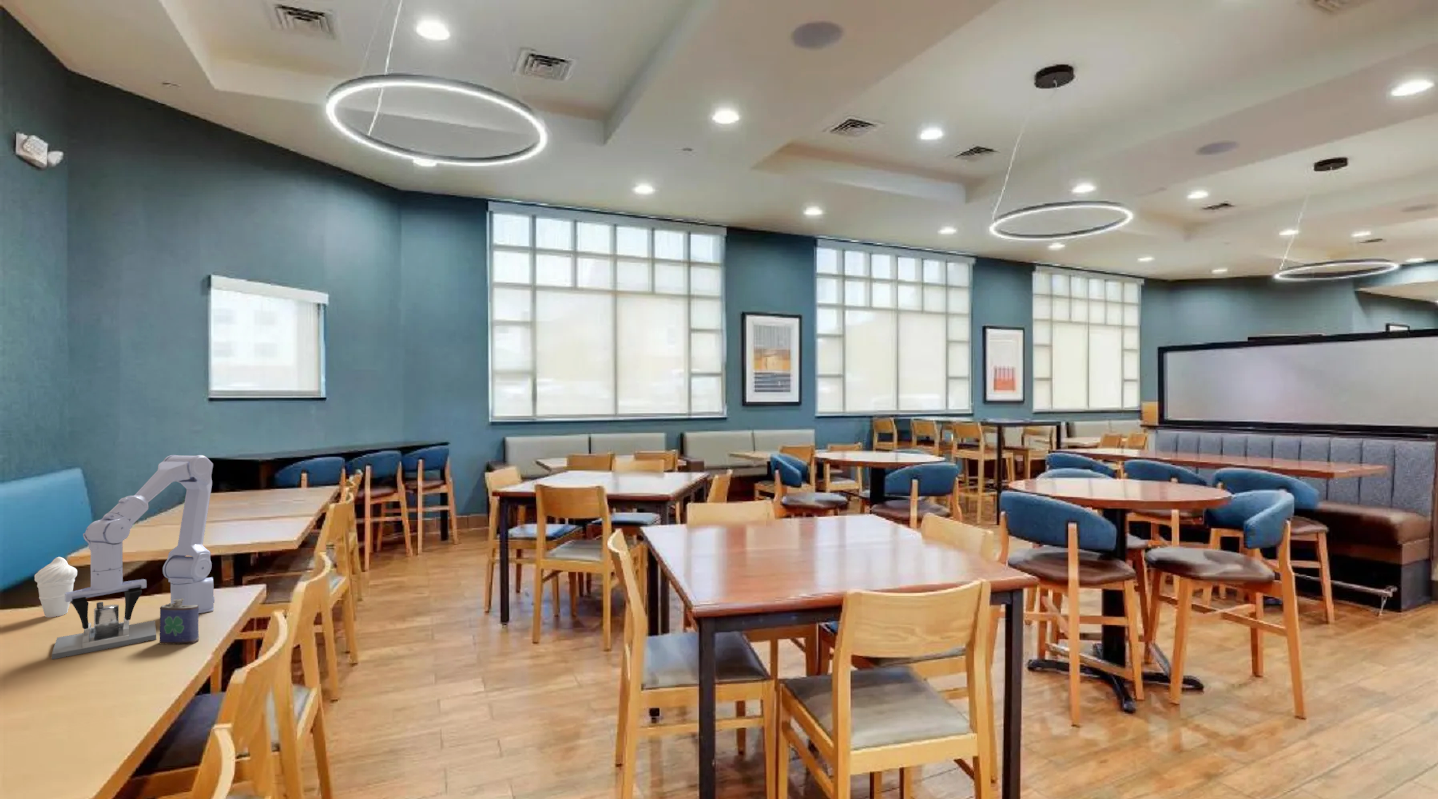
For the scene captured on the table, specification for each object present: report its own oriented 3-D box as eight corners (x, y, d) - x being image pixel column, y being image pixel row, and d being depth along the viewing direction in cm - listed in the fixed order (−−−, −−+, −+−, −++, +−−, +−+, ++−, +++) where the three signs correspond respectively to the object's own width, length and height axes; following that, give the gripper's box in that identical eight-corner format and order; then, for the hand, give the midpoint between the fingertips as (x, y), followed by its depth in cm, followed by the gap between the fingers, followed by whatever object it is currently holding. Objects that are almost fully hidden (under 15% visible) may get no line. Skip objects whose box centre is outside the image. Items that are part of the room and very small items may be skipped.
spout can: (115, 631, 161) (115, 597, 161) (121, 634, 159) (121, 600, 159) (91, 636, 157) (91, 602, 157) (96, 640, 155) (96, 605, 155)
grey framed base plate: (154, 624, 169) (154, 610, 169) (156, 639, 159) (156, 624, 159) (57, 642, 157) (57, 627, 157) (51, 659, 146) (51, 643, 146)
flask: (201, 640, 158) (201, 597, 158) (191, 645, 155) (190, 600, 155) (165, 639, 158) (165, 596, 158) (154, 644, 156) (154, 600, 156)
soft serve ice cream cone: (54, 620, 173) (54, 561, 173) (24, 620, 173) (24, 561, 173) (86, 610, 181) (86, 553, 181) (57, 609, 181) (57, 553, 181)
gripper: (141, 560, 166) (141, 612, 166) (62, 572, 154) (62, 628, 154) (148, 564, 162) (148, 617, 162) (67, 577, 150) (67, 634, 150)
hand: (106, 623), depth 158 cm, fingers open, 7 cm apart
